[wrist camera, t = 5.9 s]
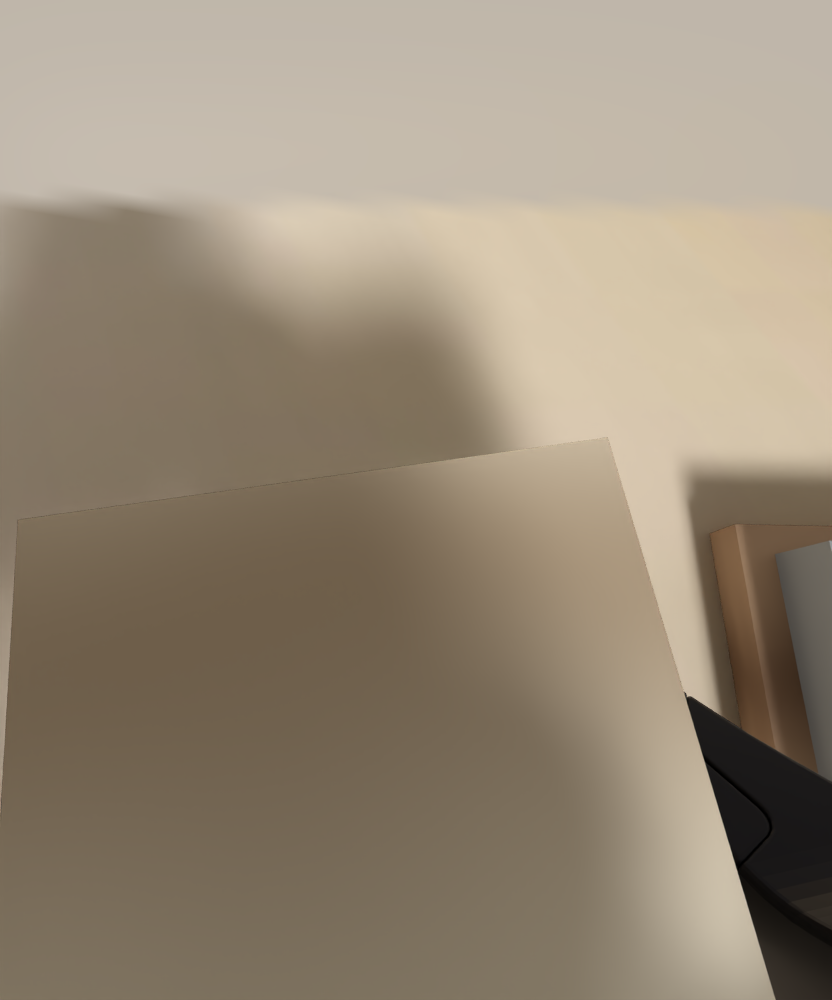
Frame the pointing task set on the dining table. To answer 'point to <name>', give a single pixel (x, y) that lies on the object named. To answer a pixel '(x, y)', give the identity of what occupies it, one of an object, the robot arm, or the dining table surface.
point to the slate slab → (812, 637)
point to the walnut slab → (764, 633)
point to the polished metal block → (360, 749)
